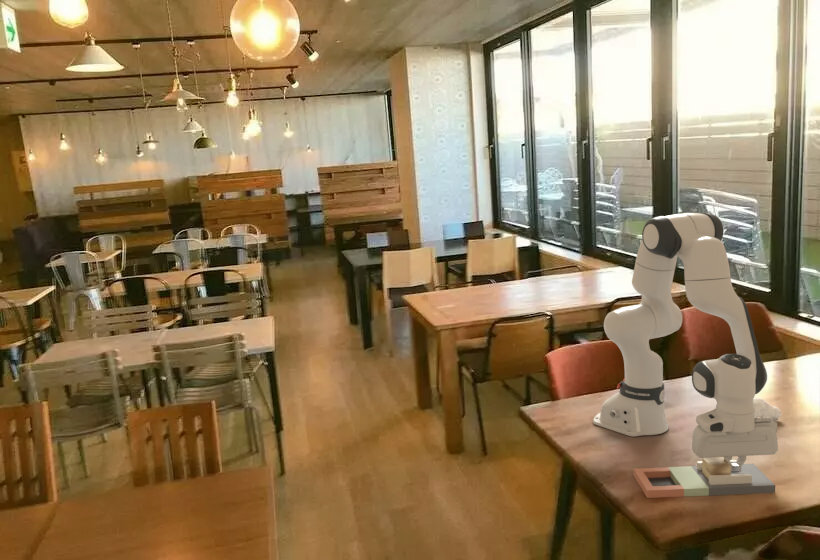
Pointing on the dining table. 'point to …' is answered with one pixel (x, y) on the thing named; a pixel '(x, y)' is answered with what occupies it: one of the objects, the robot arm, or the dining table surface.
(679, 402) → the dining table surface
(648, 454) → the dining table surface
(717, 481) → the channel walls
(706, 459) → the birch block
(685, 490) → the pad
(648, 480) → the board
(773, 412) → the white lumpy figurine
